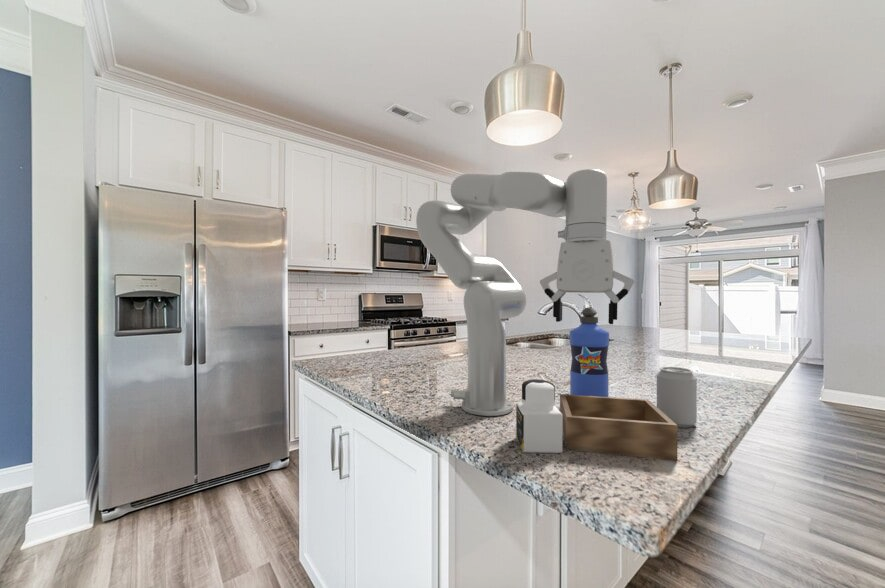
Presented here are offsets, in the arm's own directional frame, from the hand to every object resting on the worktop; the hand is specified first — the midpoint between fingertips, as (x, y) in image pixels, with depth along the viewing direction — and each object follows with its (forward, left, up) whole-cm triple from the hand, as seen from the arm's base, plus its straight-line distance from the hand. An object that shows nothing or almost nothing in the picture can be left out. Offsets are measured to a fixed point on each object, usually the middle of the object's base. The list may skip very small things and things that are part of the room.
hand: (584, 322), depth 73 cm
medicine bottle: (-9, -6, -23) cm, 25 cm away
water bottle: (+4, +22, -23) cm, 32 cm away
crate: (+5, +1, -23) cm, 23 cm away
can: (+21, +14, -23) cm, 34 cm away
